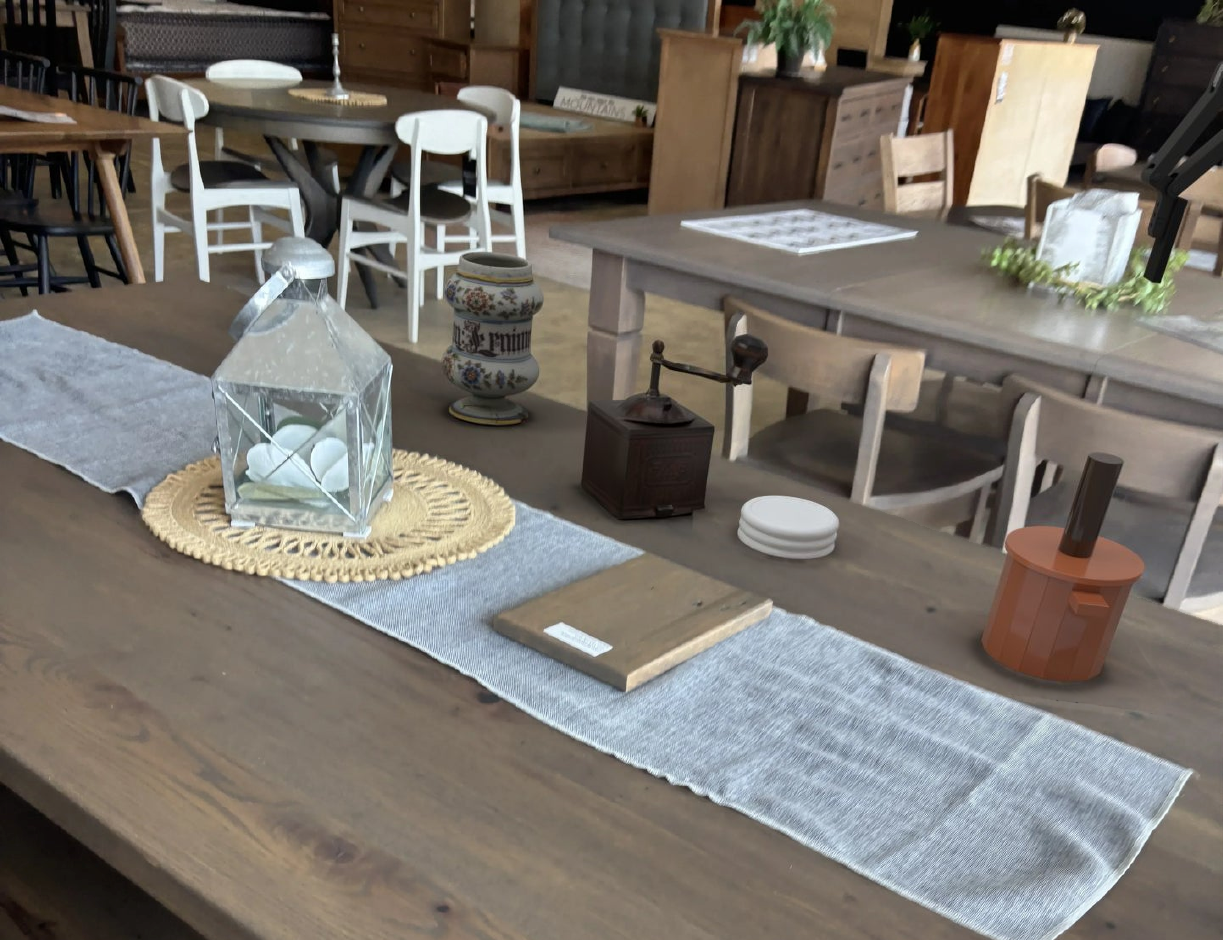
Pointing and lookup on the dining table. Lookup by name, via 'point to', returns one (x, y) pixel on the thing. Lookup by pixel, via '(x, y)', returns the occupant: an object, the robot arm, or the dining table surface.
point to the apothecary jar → (491, 336)
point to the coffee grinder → (657, 442)
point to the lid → (1081, 535)
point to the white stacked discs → (788, 527)
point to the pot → (1051, 624)
